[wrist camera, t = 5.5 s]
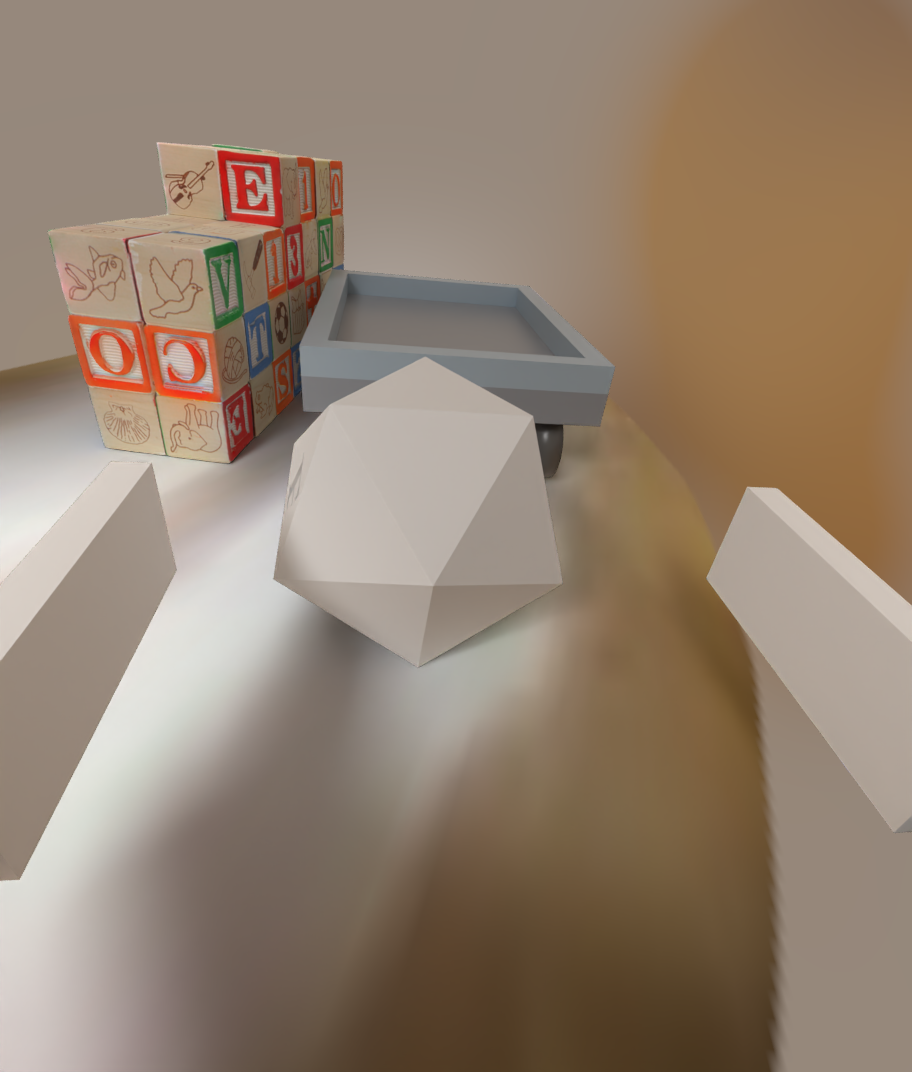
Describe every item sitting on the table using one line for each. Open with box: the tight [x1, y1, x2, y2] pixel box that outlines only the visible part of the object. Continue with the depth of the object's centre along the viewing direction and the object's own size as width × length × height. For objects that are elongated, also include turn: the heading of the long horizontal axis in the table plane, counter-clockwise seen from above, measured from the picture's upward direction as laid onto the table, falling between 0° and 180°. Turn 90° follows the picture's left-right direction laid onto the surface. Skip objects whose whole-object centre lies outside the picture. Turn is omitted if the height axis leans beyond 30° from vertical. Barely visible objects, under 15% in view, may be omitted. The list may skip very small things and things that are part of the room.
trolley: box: [299, 269, 615, 477], centre depth 31 cm, size 13×17×6 cm
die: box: [274, 357, 563, 667], centre depth 17 cm, size 8×9×10 cm
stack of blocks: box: [47, 142, 344, 463], centre depth 31 cm, size 21×6×12 cm, turn 175°
